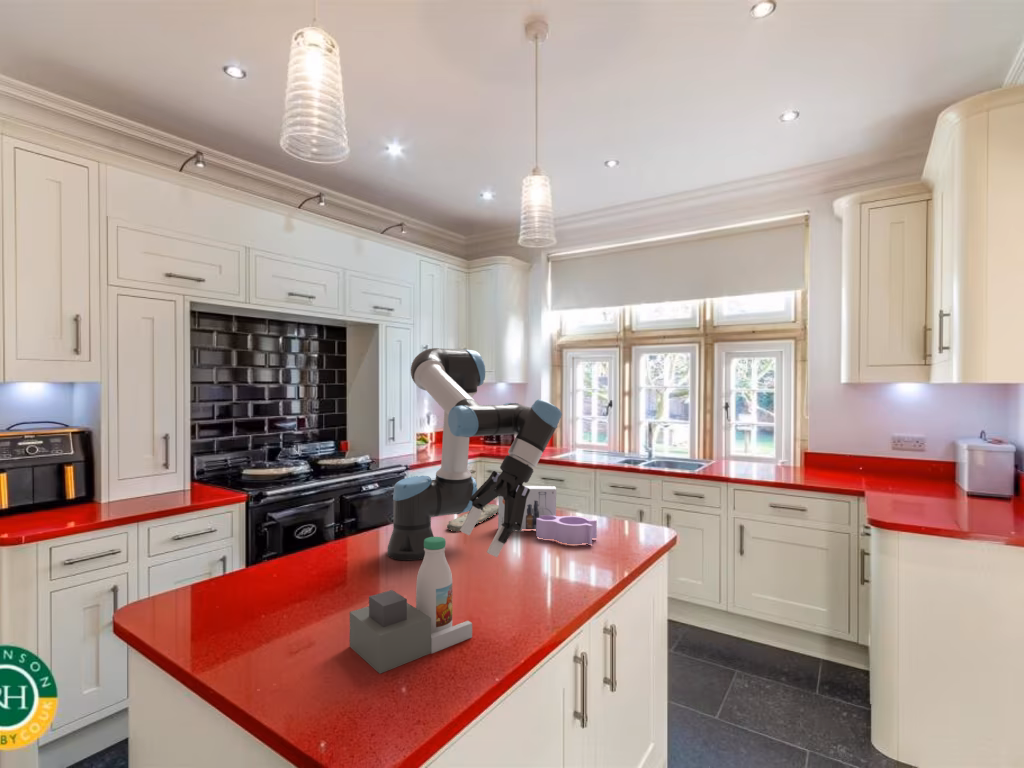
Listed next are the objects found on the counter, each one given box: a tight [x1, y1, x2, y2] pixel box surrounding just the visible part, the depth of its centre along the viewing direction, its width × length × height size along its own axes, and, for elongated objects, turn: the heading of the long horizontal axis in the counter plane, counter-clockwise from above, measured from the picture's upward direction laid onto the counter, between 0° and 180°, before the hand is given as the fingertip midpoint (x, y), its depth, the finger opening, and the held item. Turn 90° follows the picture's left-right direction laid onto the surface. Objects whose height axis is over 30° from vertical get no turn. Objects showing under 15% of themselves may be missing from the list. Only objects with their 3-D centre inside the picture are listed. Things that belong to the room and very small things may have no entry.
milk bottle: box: [415, 536, 453, 634], centre depth 110 cm, size 8×8×20 cm
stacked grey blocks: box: [349, 589, 473, 674], centre depth 106 cm, size 14×21×11 cm, turn 132°
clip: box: [535, 515, 598, 545], centre depth 177 cm, size 20×12×7 cm, turn 68°
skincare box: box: [497, 485, 557, 530], centre depth 188 cm, size 21×6×16 cm, turn 90°
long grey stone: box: [446, 503, 498, 531], centre depth 201 cm, size 35×5×10 cm
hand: (477, 543), depth 118 cm, fingers open, 13 cm apart
